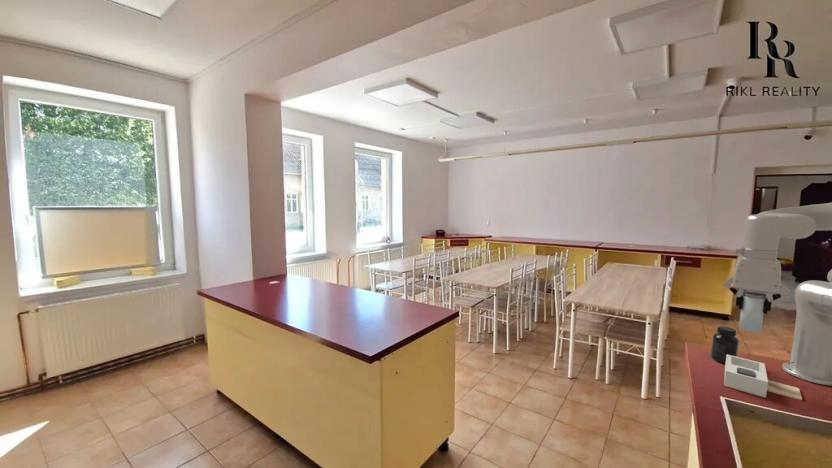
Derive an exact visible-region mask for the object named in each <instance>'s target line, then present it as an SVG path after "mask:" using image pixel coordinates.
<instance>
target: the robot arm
mask: <svg viewBox="0 0 832 468" xmlns="http://www.w3.org/2000/svg"><path fill="white" fill-rule="evenodd" d="M743 231H744V234H743V241H742V248H736V249H735V254H739V255H741V256H738V258H737V260H736V262H735V263H736V264H735V267H734V272H733V276H731V277H730V278H728V279H727V280H725V281H724V282H723V283H722V285H723V286H724V287H725V288H726V289H728V290H729V291H730V292H731V293H732V294H733V295H735V297H736V299H735V307H737V308H738V310H740V311H741V309H742V302H743V292H744V291H755V292H760V293H764V294H766V298H765V305H764V314H763V315H768V312H771V310H772V303H773V302H775V301H776V300H778V299H780V298H783V297H786V296H788V295H791V292H790V290H789V289H788V288H787V287H786V286H785V285H784V284H783V283H782V279H781V278H782V265H781V261H780V260H779V259H777V257H778V250H779V243H780V239H781V238H782V239H791V240H800V239H806V238H808V237H810V236H812V235H813V234H814V233H815V232H816V231H832V202H827V203H819V204H817V203H816V204H809V205H800V206H791V207H782V208H781V207H780V208H776V209H770V210H765V211H762V212H759V213H757V214H751V215H747V216H746V218H745V224H744V230H743ZM827 273H828V274H827V277H826V278H827V279H826V280H827V281H824V280H816V279H815V280H813V279H811V280H806V281H803V282H801V283H799V284H798V285H797V286H796V287H795V290H794V299H795V300H794V301H795V305H796V306H795V307H796V316H795V325H794V330H793V331H794V332H793V340H792V346H791V353H790V359H789V361H784V362H783V363H782V365H781V366H782V367H781V368H782V369H783V370H784V371H785V372H786V373H788V374H790V375H792V376H794V377H796V378H798V379H800V380H804V381H807V382H809V383H810V382H811V383H815V384H818V385H823V386H832V269H830V270H829V272H827ZM731 284H732V285H731ZM789 362H790V364H789ZM791 362H794V363H791ZM803 364H804V365H803ZM815 366H818V367H815Z"/></svg>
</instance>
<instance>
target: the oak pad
mask: <svg viewBox="0 0 832 468" xmlns="http://www.w3.org/2000/svg"><path fill="white" fill-rule="evenodd" d="M767 392H770V393H773V394H776V395H781V396H784V397H787V398H791V399H794V400H797V401H803V397H802V394H801V390H800V388H799V387H796V386H792V385H788V384H784V383H781V382H778V381H773V380H769V379H768V386H767Z"/></svg>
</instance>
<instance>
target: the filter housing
mask: <svg viewBox="0 0 832 468" xmlns="http://www.w3.org/2000/svg"><path fill="white" fill-rule="evenodd" d="M738 367H740V368H743V369H747V370H751V371H754V377H750V376H746V375H742V374H739V373H738ZM768 380H769V379H768V375H767V370H766V364H765V362H759V361H755V360H751V359H748V358H743V357H740V356H737V357H735V356H731V355H727V354H726V363H725V364H724V380H723V381H724V382H723V384H724V387H728V388H731V389H733V390H737V391H741V392H744V393H748V394H751V395H754V396H758V397H762V398H765V399H766V398H767V394H768V393H767V392H768V391H767V386H768Z"/></svg>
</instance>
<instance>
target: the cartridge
mask: <svg viewBox="0 0 832 468" xmlns="http://www.w3.org/2000/svg"><path fill="white" fill-rule="evenodd" d="M742 296H743V302H742V309H741V310H740V314H739V316H740V317H739V324H738V325H739V326H738V328H739V329H740V330H743V331H746V332H749V333H755V334H758V333H762V329H763V328H762V327H763V321H764V315H765V314H764V305H765V299H766V298H767V296H766V293H765V292H757V291H750V290H744V292H743V293H742Z"/></svg>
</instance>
